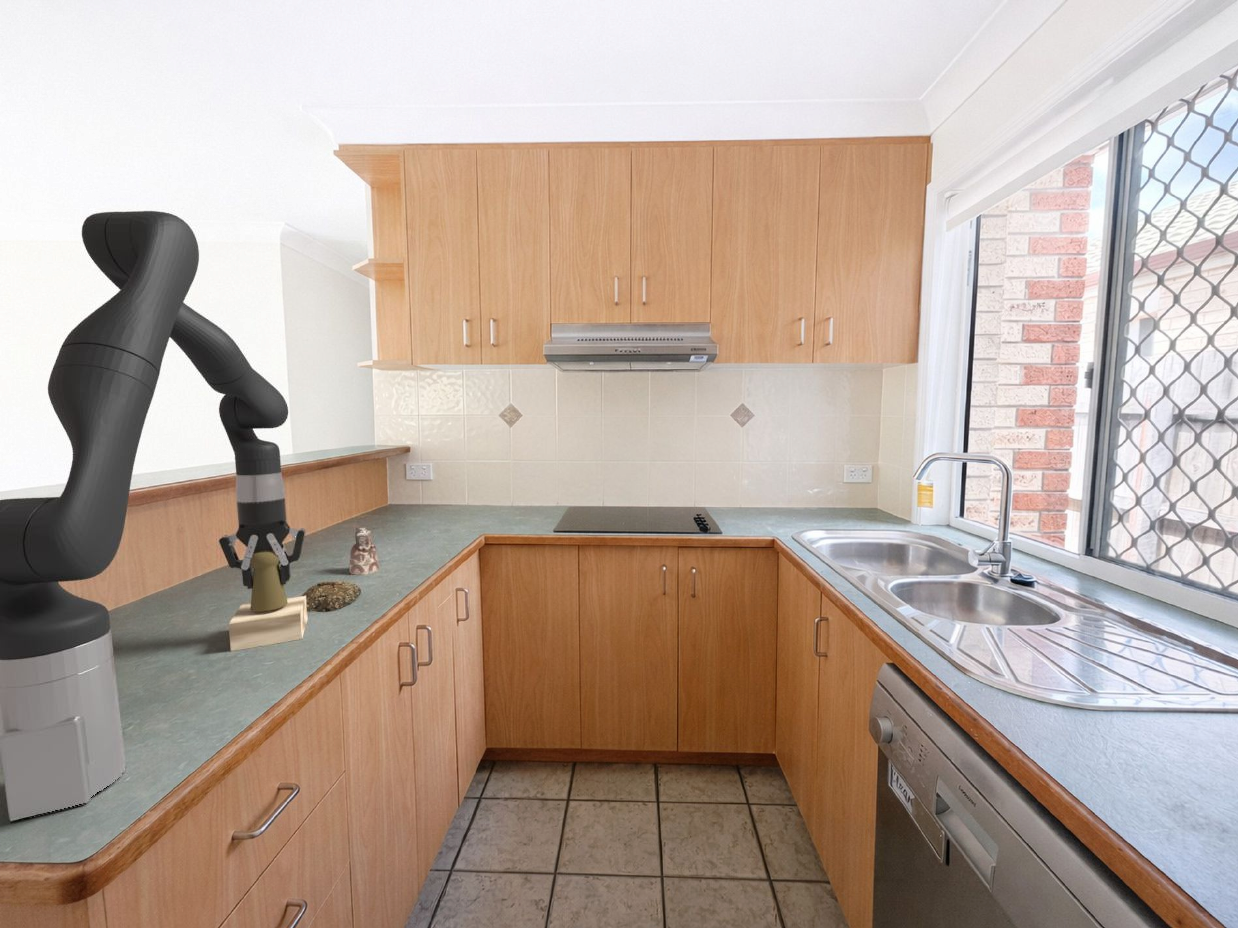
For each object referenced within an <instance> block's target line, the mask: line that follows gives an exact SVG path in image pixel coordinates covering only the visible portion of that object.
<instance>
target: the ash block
mask: <svg viewBox="0 0 1238 928" xmlns="http://www.w3.org/2000/svg"><path fill="white" fill-rule="evenodd" d="M287 602H288V603H287V604H286V605H285V606H283V607H280V608H277V609H274V610H268V611H252V610H250V607H251V602H250V603H244V604H243V603H242V604H241V605H240V606H239V608H238V610H237V611H236V612H235V614H234V615H233V617H232V618H231V619H230V621H229V623H228V634H229V643H230V652H234V651H240V650H246V649H252V648H258V647H263V646H269V645H275V644H280V643H288V642H294V641H300V640H303V637H304V633H305V630H306V627H307V622H308V619H309V616H308V612H307V602H306V596H301V595H299V596H294V597H287Z"/></svg>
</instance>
